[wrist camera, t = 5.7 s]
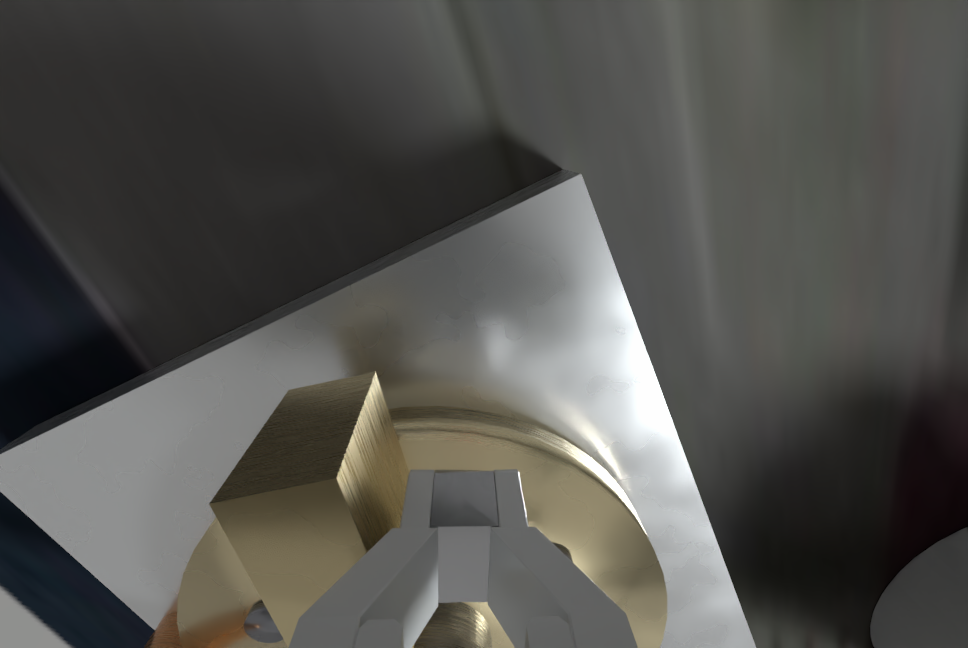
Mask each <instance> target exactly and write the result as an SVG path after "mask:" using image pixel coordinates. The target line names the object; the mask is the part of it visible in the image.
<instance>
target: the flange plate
mask: <svg viewBox="0 0 968 648" xmlns="http://www.w3.org/2000/svg"><path fill="white" fill-rule="evenodd" d="M411 469H412V470H481V471H494V470H504V469H517V470H518V471H519V475H520V481H521V486H522V492H523V498H524V504H525V509H526V515H527V521H528V526H529V527H536V528H537V529H538V530H539V531H540V532H542V533H543V534H544V535H545V536H546V537H547V538H548V539H549V540H550V541H551V542H552V543H553V544H554V545H555V546H556V547H557V548H558V549H559V550H560V551H561V552H562V553H563V554H564V555H566V556H567V557H568V558H569V559H570V560H571V561H572V562H573V563H574V564H575V565H576V566H577V567H578V568H579V569H580V570H581V571H582V572H583V573H584V574H585V575H586V576H587V577H588V578H589V579H591V580H592V581H593V582H594V583H595V584H596V585H597V586H598V587H599V588H600V589H601V590H602V591H603V592H604V593H605V594H606V595H607V596H608V597H609V598H610V599H611V600H612V601H613V602H614V603H616V604H617V605H618V606H619V607H620V608H621V609H622V610H623V611H624V612H625V613H626V615H627V618H628V621H629V624H630V627H631V629H632V632H633V635H634V638H635V641H636V644H637V647H638V648H660V646H661V643H662V640H663V637H664V632H665V626H666V621H667V591H666V585H665V580H664V574H663V571H662V568H661V566H660V563H659V561H658V558H657V556H656V553H655V550H654V548H653V546H652V544H651V542H650V540H649V538H648V536H647V534H646V532H645V530H644V527H643V525H642V523H641V521H640V519H639V517H638V515H637V513H636V511H635V509H634V507H633V506H632V504H631V502H630V501H629V499H628V497H627V496H626V494H625V492H624V491H623V489H622V488H621V487H620V486H619V485H618V484H617V482H616V481H615V480H614V479H613V478H612V477H611V475H610V474H609V473H608V472H607V471H606V470H605V469H604V468H603V467H601V466H600V465H599V464H598V463H597V462H596V461H594V460H593V459H592V458H591V457H590V456H589V455H588V454H586V453H585V452H583V451H582V450H580V449H579V448H577V447H575V446H574V445H572V444H571V443H569V442H568V441H566V440H565V439H563V438H561V437H559V436H557V435H555V434H553V433H550V432H548V431H546V430H544V429H542V428H540V427H538V426H535V425H533V424H530V423H527V422H524V421H521V420H517V419H514V418H511V417H508V416H505V415H501V414H496V413H491V412H486V411H480V410H475V409H469V408H457V407H444V406H420V407H400V408H393V409H388V407H387V404H386V401H385V398H384V395H383V392H382V389H381V386H380V383H379V380H378V377H377V374H376V372H371V373H366V374H362V375H357V376H352V377H348V378H343V379H338V380H333V381H329V382H324V383H319V384H314V385H310V386H305V387H300V388H295V389H291V390H288V392H287V393H286V394H285V396H284V397H283V399H282V400H281V402H280V403H279V404H278V406H277V407H276V409H275V410H274V412H273V413H272V414H271V416H270V417H269V419H268V420H267V422H266V423H265V424H264V426H263V427H262V429H261V430H260V432H259V433H258V435H257V436H256V437H255V439H254V440H253V442H252V443H251V445H250V446H249V447H248V449H247V450H246V452H245V453H244V455H243V456H242V457H241V459H240V460H239V462H238V463H237V465H236V466H235V468H234V469H233V470H232V472H231V473H230V475H229V476H228V478H227V479H226V480H225V482H224V483H223V485H222V486H221V488H220V489H219V490H218V492H217V493H216V495H215V496H214V498H213V499H212V500H211V502H210V503H209V505H210V507H211V509H212V510H213V512H214V514H215V516H216V517H215V519H214V520H213V522H212V523H211V525H210V526H209V528H208V529H207V531H206V532H205V534H204V535H203V537H202V538H201V540H200V541H199V543H198V544H197V546H196V548H195V549H194V551H193V553H192V555H191V557H190V560H189V562H188V564H187V566H186V569H185V571H184V573H183V577H182V581H181V585H180V589H179V594H178V602H177V624H178V630H179V636H180V642H181V646H182V648H289V645H290V642H291V639H292V636H293V634H294V631H295V628H296V625H297V622H298V620H299V618H300V617H301V616H302V615H303V614H304V613H305V612H306V611H307V610H308V609H309V608H310V607H311V606H312V605H313V604H314V603H315V602H316V601H317V600H318V599H319V598H320V597H321V596H322V595H323V594H325V593H326V592H327V591H328V590H329V589H330V588H331V587H332V586H333V585H334V584H335V583H336V582H337V581H338V580H339V579H340V578H341V577H342V576H343V575H344V574H345V573H346V572H347V571H348V570H349V569H350V568H351V567H352V566H353V565H355V564H356V563H357V562H358V561H359V560H360V559H361V558H362V557H363V556H364V555H365V554H366V553H367V552H368V551H369V550H370V549H371V548H372V547H373V546H374V545H375V544H376V543H377V542H378V541H379V540H380V539H381V538H382V537H384V536H385V535H386V534H387V533H388V532H389V531H390V530H391V529H392V528H400V522H401V516H402V510H403V504H404V499H405V493H406V487H407V481H408V475H409V472H410V470H411ZM412 648H515V647H514V645H513V644H512V642H511V641H510V639H509V637H508V636H507V634H506V633H505V631H504V630H503V628H502V626H501V625H500V623H499V622H498V620H497V619H496V617H495V615H494V614H493V612H492V611H491V609H490V608H489V606H488V602H451V603H438V607H437V609H436V610H435V612H434V613H433V615H432V617H431V618H430V620H429V621H428V623H427V624H426V626H425V628H424V629H423V631H422V632H421V634H420V635H419V637H418V639H417V640H416V642H415V643H414V645H413V647H412Z"/></svg>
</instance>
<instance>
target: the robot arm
mask: <svg viewBox="0 0 968 648" xmlns="http://www.w3.org/2000/svg"><path fill="white" fill-rule="evenodd" d="M451 602H488V606H489V608H490V609H491V611H492V612H493V614H494V615H495V617H496V619H497V620H498V622H499V623H500V625H501V626H502V628H503V630H504V631H505V633H506V634H507V636H508V637H509V639H510V641H511V642H512V644H513V645H514V647H515V648H638V647H637V644H636V641H635V638H634V635H633V632H632V629H631V627H630V624H629V621H628V618H627V615H626V613H625V612H624V611H623V610H622V609H621V608H620V607H619V606H618V605H617V604H616V603H614V602H613V601H612V600H611V599H610V598H609V597H608V596H607V595H606V594H605V593H604V592H603V591H602V590H601V589H600V588H599V587H598V586H597V585H596V584H595V583H594V582H593V581H592V580H591V579H589V578H588V577H587V576H586V575H585V574H584V573H583V572H582V571H581V570H580V569H579V568H578V567H577V566H576V565H575V564H574V563H573V562H572V561H571V560H570V559H569V558H568V557H567V556H566V555H564V554H563V553H562V552H561V551H560V550H559V549H558V548H557V547H556V546H555V545H554V544H553V543H552V542H551V541H550V540H549V539H548V538H547V537H546V536H545V535H544V534H543V533H542V532H540V531H539V530H538V529H537V528H536V527H529V526H528V521H527V515H526V509H525V504H524V498H523V492H522V486H521V481H520V475H519V471H518V470H517V469H504V470H494V471H481V470H412V469H411V470H410V472H409V475H408V481H407V487H406V493H405V499H404V504H403V510H402V516H401V522H400V528H392V529H391V530H390V531H389V532H388V533H387V534H386V535H385V536H384V537H382V538H381V539H380V540H379V541H378V542H377V543H376V544H375V545H374V546H373V547H372V548H371V549H370V550H369V551H368V552H367V553H366V554H365V555H364V556H363V557H362V558H361V559H360V560H359V561H358V562H357V563H356V564H355V565H353V566H352V567H351V568H350V569H349V570H348V571H347V572H346V573H345V574H344V575H343V576H342V577H341V578H340V579H339V580H338V581H337V582H336V583H335V584H334V585H333V586H332V587H331V588H330V589H329V590H328V591H327V592H326V593H325V594H323V595H322V596H321V597H320V598H319V599H318V600H317V601H316V602H315V603H314V604H313V605H312V606H311V607H310V608H309V609H308V610H307V611H306V612H305V613H304V614H303V615H302V616H301V617H300V618H299V620H298V622H297V625H296V628H295V631H294V634H293V636H292V639H291V642H290V645H289V648H412V647H413V645H414V643H415V642H416V640H417V639H418V637H419V635H420V634H421V632H422V631H423V629H424V628H425V626H426V624H427V623H428V621H429V620H430V618H431V617H432V615H433V613H434V612H435V610H436V609H437V607H438V603H451Z"/></svg>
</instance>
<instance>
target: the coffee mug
mask: <svg viewBox="0 0 968 648" xmlns="http://www.w3.org/2000/svg"><path fill="white" fill-rule="evenodd" d="M870 635H871V640H872V644H873V646H874V648H968V527H966V528H964V529H961V530H959V531H957V532H955V533H953V534H952V535H950V536H948V537H946V538H944V539H942V540H940V541H938V542H937V543H935V544H934V545H932V546H931V547H929V548H928V549H926V550H925V551H924V552H922V553H921V554H919V555H918V556H916V557H915V558H914V559H913V560H912V561H910V562H909V563H908V564H907V565H906V566H905V567H904V568H903V569H902V570H901V571H900V572H899V573H898V574H897V575H896V576H895V578H894V579H893V580H892V581H891V582H890V584H889V585H888V586H887V587H886V589H885V590H884V592H883V593H882V595H881V597H880V599H879V601H878V603H877V604H876V607H875V609H874V611H873V615H872V619H871V624H870Z"/></svg>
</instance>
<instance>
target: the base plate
mask: <svg viewBox="0 0 968 648" xmlns="http://www.w3.org/2000/svg"><path fill="white" fill-rule="evenodd" d="M371 372H376V374H377V377H378V380H379V383H380V386H381V389H382V392H383V395H384V398H385V401H386V404H387V407H388V409H393V408H400V407H420V406H444V407H457V408H469V409H475V410H480V411H486V412H491V413H496V414H501V415H505V416H508V417H511V418H514V419H517V420H521V421H524V422H527V423H530V424H533V425H535V426H538V427H540V428H542V429H544V430H546V431H548V432H550V433H553V434H555V435H557V436H559V437H561V438H563V439H565V440H566V441H568V442H569V443H571V444H572V445H574V446H575V447H577V448H579V449H580V450H582V451H583V452H585V453H586V454H588V455H589V456H590V457H591V458H592V459H593V460H594V461H596V462H597V463H598V464H599V465H600V466H601V467H603V468H604V469H605V470H606V471H607V472H608V473H609V474H610V475H611V477H612V478H613V479H614V480H615V481H616V482H617V484H618V485H619V486H620V487H621V488H622V489H623V491H624V492H625V494H626V496H627V497H628V499H629V501H630V502H631V504H632V506H633V507H634V509H635V511H636V513H637V515H638V517H639V519H640V521H641V523H642V525H643V527H644V530H645V532H646V534H647V536H648V538H649V540H650V542H651V544H652V546H653V548H654V550H655V553H656V556H657V558H658V561H659V563H660V566H661V568H662V571H663V574H664V580H665V585H666V591H667V621H666V626H665V632H664V637H663V640H662V643H661V646H660V648H756V646H755V643H754V641H753V638H752V635H751V632H750V630H749V627H748V624H747V622H746V619H745V616H744V613H743V611H742V608H741V605H740V603H739V600H738V597H737V594H736V592H735V589H734V586H733V584H732V581H731V578H730V576H729V573H728V570H727V567H726V565H725V562H724V559H723V557H722V554H721V551H720V548H719V546H718V543H717V540H716V538H715V535H714V532H713V530H712V527H711V524H710V521H709V519H708V516H707V513H706V511H705V508H704V505H703V502H702V500H701V497H700V494H699V492H698V489H697V486H696V483H695V481H694V478H693V475H692V473H691V470H690V467H689V465H688V462H687V459H686V456H685V454H684V451H683V448H682V446H681V443H680V440H679V437H678V435H677V432H676V429H675V427H674V424H673V421H672V418H671V416H670V413H669V410H668V408H667V405H666V402H665V400H664V397H663V394H662V391H661V389H660V386H659V383H658V381H657V378H656V375H655V372H654V370H653V367H652V364H651V362H650V359H649V356H648V354H647V351H646V348H645V345H644V343H643V340H642V337H641V335H640V332H639V329H638V326H637V324H636V321H635V318H634V316H633V313H632V310H631V307H630V305H629V302H628V299H627V297H626V294H625V291H624V289H623V286H622V283H621V280H620V278H619V275H618V272H617V270H616V267H615V264H614V261H613V259H612V256H611V253H610V251H609V248H608V245H607V243H606V240H605V237H604V234H603V232H602V229H601V226H600V224H599V221H598V218H597V215H596V213H595V210H594V207H593V205H592V202H591V199H590V196H589V194H588V191H587V188H586V186H585V183H584V180H583V178H582V175H581V174H580V173H576V172H572V171H568V170H564V169H563V170H561V171H559V172H556V173H554V174H552V175H550V176H548V177H546V178H544V179H542V180H540V181H538V182H536V183H534V184H532V185H530V186H528V187H526V188H524V189H522V190H519V191H517V192H515V193H513V194H511V195H509V196H507V197H505V198H503V199H501V200H499V201H497V202H495V203H493V204H491V205H489V206H487V207H485V208H482V209H480V210H478V211H476V212H474V213H472V214H470V215H468V216H466V217H464V218H462V219H460V220H458V221H456V222H454V223H452V224H450V225H448V226H445V227H443V228H441V229H439V230H437V231H435V232H433V233H431V234H429V235H427V236H425V237H423V238H421V239H419V240H417V241H415V242H413V243H411V244H408V245H406V246H404V247H402V248H400V249H398V250H396V251H394V252H392V253H390V254H388V255H386V256H384V257H382V258H380V259H378V260H376V261H374V262H371V263H369V264H367V265H365V266H363V267H361V268H359V269H357V270H355V271H353V272H351V273H349V274H347V275H345V276H343V277H341V278H339V279H337V280H334V281H332V282H330V283H328V284H326V285H324V286H322V287H320V288H318V289H316V290H314V291H312V292H310V293H308V294H306V295H304V296H302V297H300V298H297V299H295V300H293V301H291V302H289V303H287V304H285V305H283V306H281V307H279V308H277V309H275V310H273V311H271V312H269V313H267V314H265V315H263V316H260V317H258V318H256V319H254V320H252V321H250V322H248V323H246V324H244V325H242V326H240V327H238V328H236V329H234V330H232V331H230V332H228V333H226V334H223V335H221V336H219V337H217V338H215V339H213V340H211V341H209V342H207V343H205V344H203V345H201V346H199V347H197V348H195V349H193V350H191V351H189V352H186V353H184V354H182V355H180V356H178V357H176V358H174V359H172V360H170V361H168V362H166V363H164V364H162V365H160V366H158V367H156V368H154V369H152V370H149V371H147V372H145V373H143V374H141V375H139V376H137V377H135V378H133V379H131V380H129V381H127V382H125V383H123V384H121V385H119V386H117V387H115V388H112V389H110V390H108V391H106V392H104V393H102V394H100V395H98V396H96V397H94V398H92V399H90V400H88V401H86V402H84V403H82V404H80V405H77V406H75V407H73V408H71V409H69V410H67V411H65V412H63V413H61V414H59V415H57V416H55V417H53V418H51V419H49V420H47V421H45V422H43V423H40V424H38V425H36V426H35V427H33V428H32V429H30V430H29V431H27V432H26V433H24V434H23V435H21V436H20V437H18V438H17V439H15V440H14V441H12V442H11V443H9V444H8V445H6V446H5V447H3V448H2V449H0V492H1V493H3V494H4V495H5V496H6V497H7V498H8V499H9V500H10V501H11V502H13V503H14V504H15V505H16V506H17V507H18V508H19V509H20V510H21V511H23V512H24V513H25V514H26V515H27V516H28V517H29V518H30V519H31V520H33V521H34V522H35V523H36V524H37V525H38V526H39V527H40V528H42V529H43V530H44V531H45V532H46V533H47V534H48V535H49V536H50V537H52V538H53V539H54V540H55V541H56V542H57V543H58V544H59V545H60V546H62V547H63V548H64V549H65V550H66V551H67V552H68V553H69V554H70V555H72V556H73V557H74V558H75V559H76V560H77V561H78V562H79V563H80V564H82V565H83V566H84V567H85V568H86V569H87V570H88V571H89V572H90V573H92V574H93V575H94V576H95V577H96V578H97V579H98V580H99V581H100V582H102V583H103V584H104V585H105V586H106V587H107V588H108V589H109V590H111V591H112V592H113V593H114V594H115V595H116V596H117V597H118V598H119V599H121V600H122V601H123V602H124V603H125V604H126V605H127V606H128V607H129V608H131V609H132V610H133V611H134V612H135V613H136V614H137V615H138V616H139V617H141V618H142V619H143V620H144V621H145V622H146V623H147V624H148V625H149V626H151V627H152V628H153V629H154V630H155V631H154V633H153V634H152V636H151V637H150V639H149V641H148V642H147V644H146V645H145V647H144V648H182V646H181V642H180V636H179V630H178V624H177V602H178V594H179V589H180V585H181V581H182V577H183V573H184V571H185V569H186V566H187V564H188V562H189V560H190V557H191V555H192V553H193V551H194V549H195V548H196V546H197V544H198V543H199V541H200V540H201V538H202V537H203V535H204V534H205V532H206V531H207V529H208V528H209V526H210V525H211V523H212V522H213V520H214V519H215V517H216V516H215V514H214V512H213V510H212V509H211V507H210V505H209V503H210V502H211V500H212V499H213V498H214V496H215V495H216V493H217V492H218V490H219V489H220V488H221V486H222V485H223V483H224V482H225V480H226V479H227V478H228V476H229V475H230V473H231V472H232V470H233V469H234V468H235V466H236V465H237V463H238V462H239V460H240V459H241V457H242V456H243V455H244V453H245V452H246V450H247V449H248V447H249V446H250V445H251V443H252V442H253V440H254V439H255V437H256V436H257V435H258V433H259V432H260V430H261V429H262V427H263V426H264V424H265V423H266V422H267V420H268V419H269V417H270V416H271V414H272V413H273V412H274V410H275V409H276V407H277V406H278V404H279V403H280V402H281V400H282V399H283V397H284V396H285V394H286V393H287V392H288V390H291V389H295V388H300V387H305V386H310V385H314V384H319V383H324V382H329V381H333V380H338V379H343V378H348V377H352V376H357V375H362V374H366V373H371Z"/></svg>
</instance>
